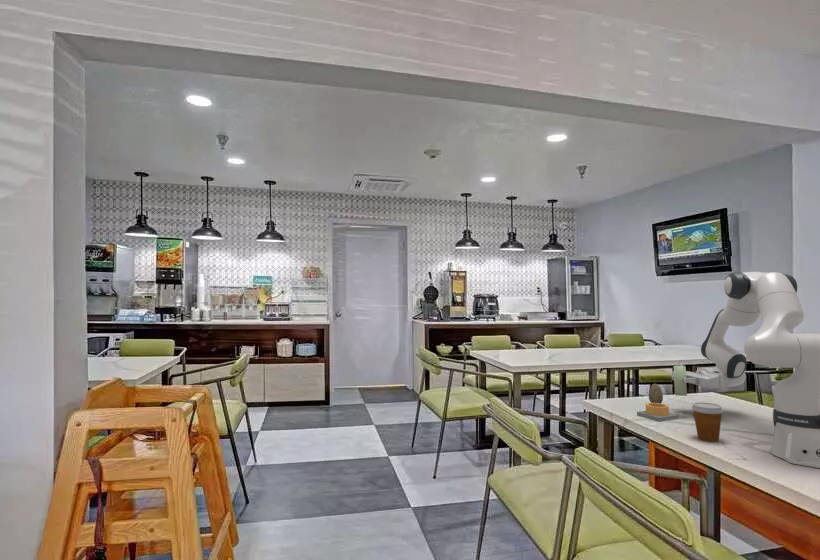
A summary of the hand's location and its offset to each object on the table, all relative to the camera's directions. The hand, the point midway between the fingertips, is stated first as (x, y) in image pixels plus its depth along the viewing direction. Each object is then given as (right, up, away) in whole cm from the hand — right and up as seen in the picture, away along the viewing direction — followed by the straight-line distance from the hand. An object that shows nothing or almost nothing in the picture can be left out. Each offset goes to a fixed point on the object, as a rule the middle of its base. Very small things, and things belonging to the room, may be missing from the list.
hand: (678, 379), depth 190 cm
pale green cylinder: (+1, -6, 0) cm, 7 cm away
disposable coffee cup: (-7, -15, -30) cm, 34 cm away
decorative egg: (+2, -17, +21) cm, 28 cm away
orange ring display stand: (-9, -16, 0) cm, 18 cm away
